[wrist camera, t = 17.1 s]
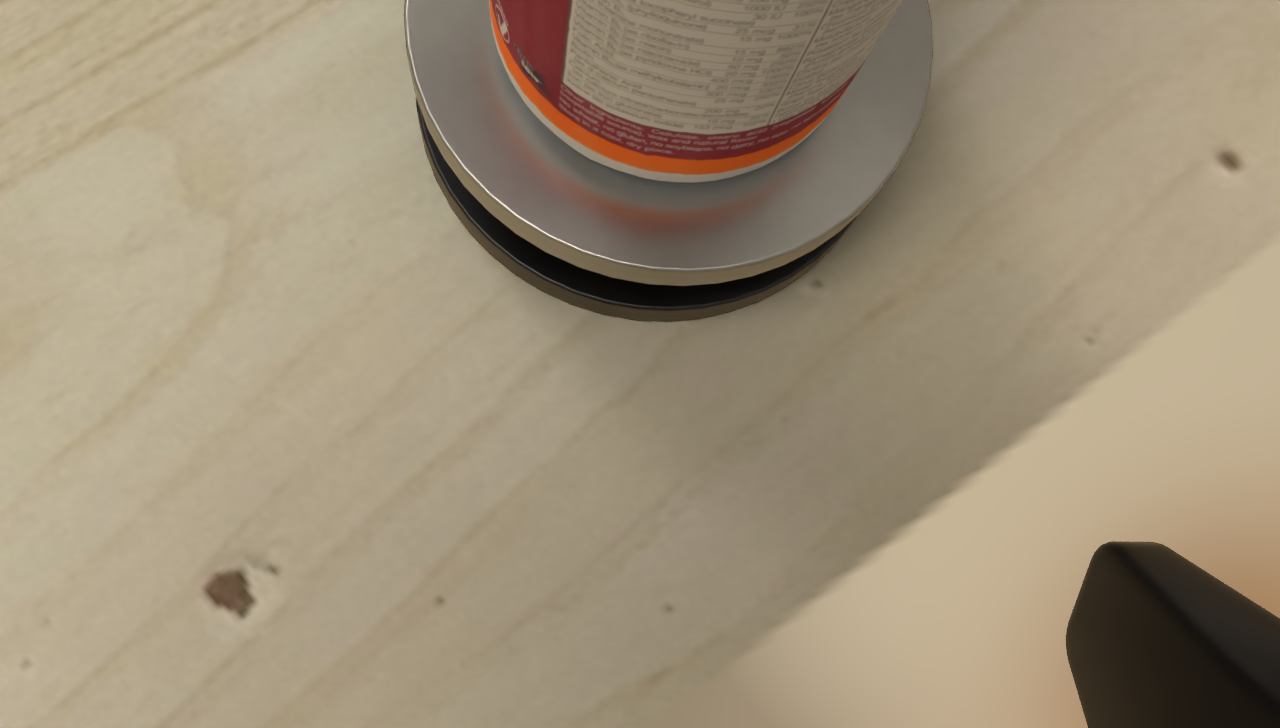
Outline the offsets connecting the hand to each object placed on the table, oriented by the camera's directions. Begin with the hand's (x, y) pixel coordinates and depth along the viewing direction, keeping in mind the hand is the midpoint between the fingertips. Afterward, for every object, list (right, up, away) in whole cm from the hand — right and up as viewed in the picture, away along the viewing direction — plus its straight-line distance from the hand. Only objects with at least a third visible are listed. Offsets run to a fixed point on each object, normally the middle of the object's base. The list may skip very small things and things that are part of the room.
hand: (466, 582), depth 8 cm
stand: (+1, +7, +14) cm, 16 cm away
